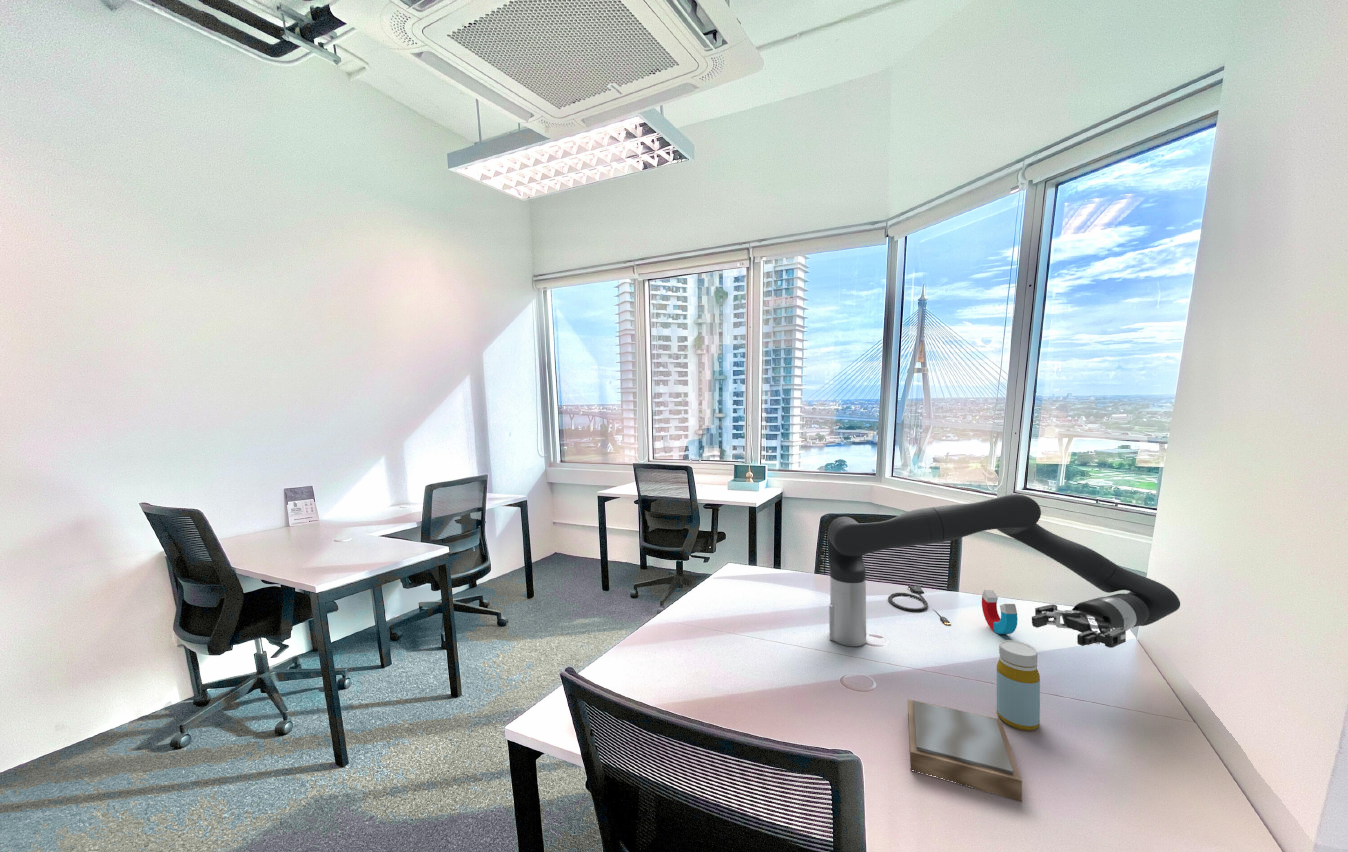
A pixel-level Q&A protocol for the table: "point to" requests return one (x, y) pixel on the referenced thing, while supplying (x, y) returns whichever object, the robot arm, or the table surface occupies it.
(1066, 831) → the table surface
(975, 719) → the plinth
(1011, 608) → the magnet
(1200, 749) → the table surface
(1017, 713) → the bottle
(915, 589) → the cable
